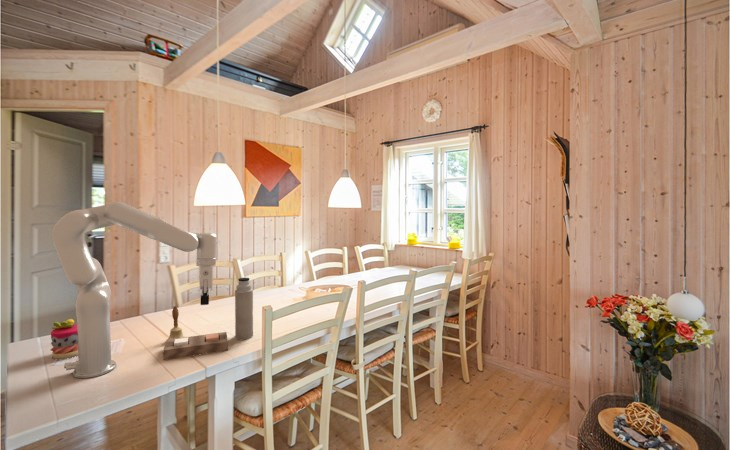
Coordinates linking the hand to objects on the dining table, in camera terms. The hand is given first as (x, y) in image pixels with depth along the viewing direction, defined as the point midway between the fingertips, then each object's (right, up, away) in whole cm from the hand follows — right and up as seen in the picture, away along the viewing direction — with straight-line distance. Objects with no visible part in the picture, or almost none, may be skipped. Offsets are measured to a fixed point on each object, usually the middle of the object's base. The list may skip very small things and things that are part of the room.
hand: (204, 304), depth 147 cm
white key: (-9, -18, -2) cm, 20 cm away
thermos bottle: (+11, -19, +16) cm, 27 cm away
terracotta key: (+2, -18, +3) cm, 18 cm away
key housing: (-3, -20, 0) cm, 20 cm away
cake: (-53, -20, -6) cm, 57 cm away
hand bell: (-18, -19, +10) cm, 28 cm away
